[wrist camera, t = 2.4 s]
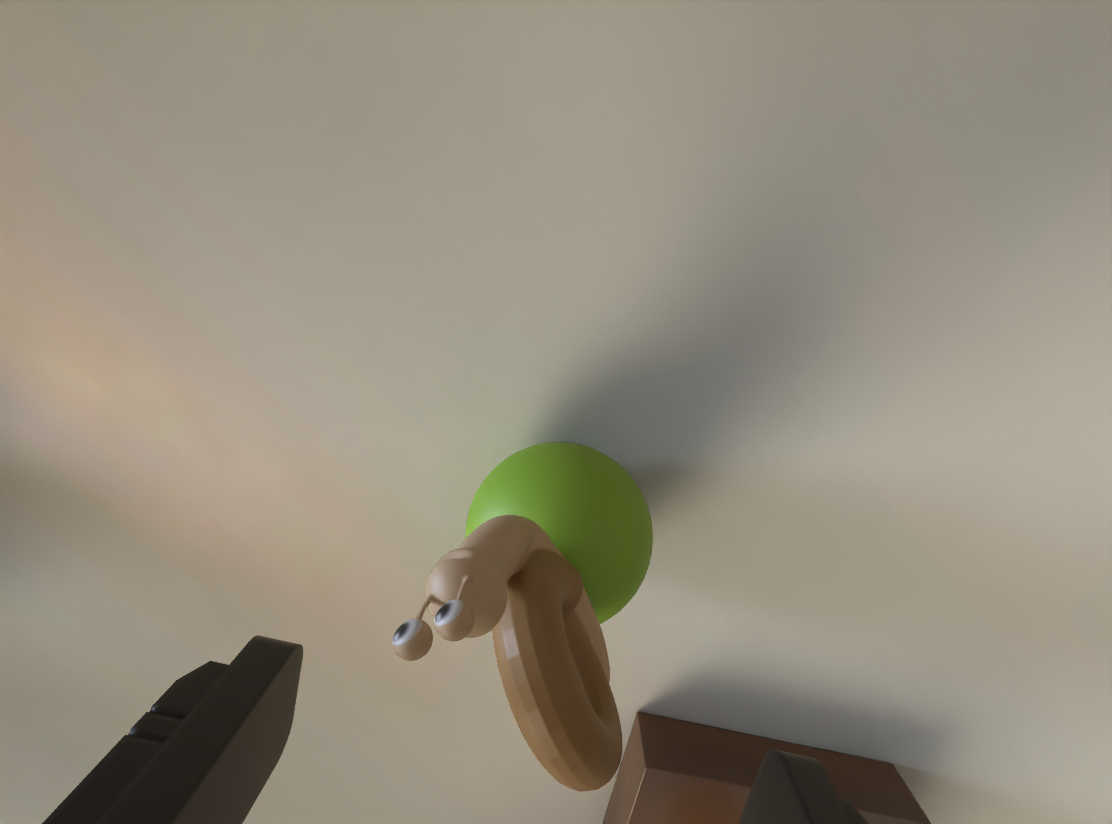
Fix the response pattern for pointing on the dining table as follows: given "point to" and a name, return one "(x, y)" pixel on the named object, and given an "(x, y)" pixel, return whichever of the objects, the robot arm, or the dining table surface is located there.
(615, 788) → the dial panel
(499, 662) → the snail figurine
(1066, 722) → the dining table surface
